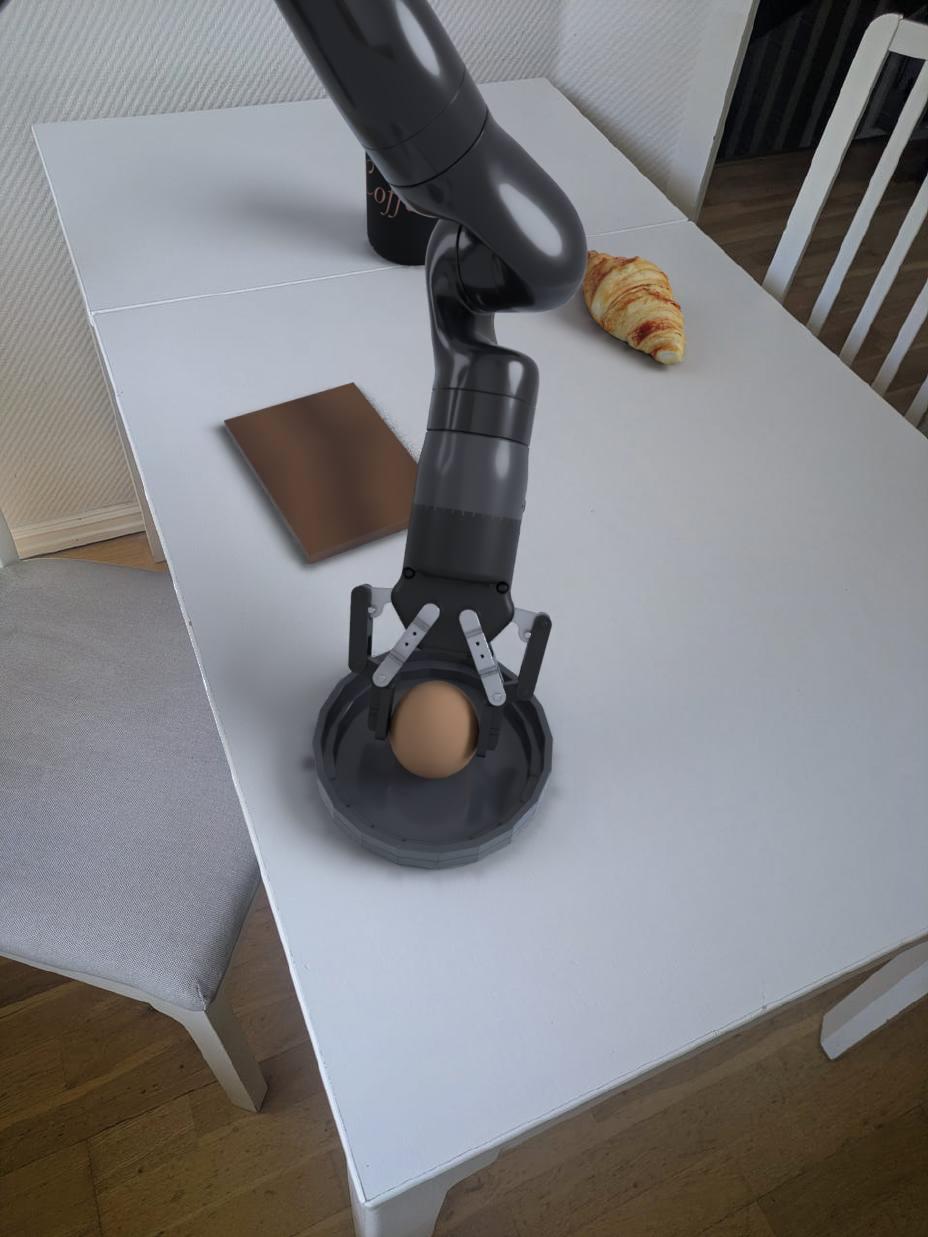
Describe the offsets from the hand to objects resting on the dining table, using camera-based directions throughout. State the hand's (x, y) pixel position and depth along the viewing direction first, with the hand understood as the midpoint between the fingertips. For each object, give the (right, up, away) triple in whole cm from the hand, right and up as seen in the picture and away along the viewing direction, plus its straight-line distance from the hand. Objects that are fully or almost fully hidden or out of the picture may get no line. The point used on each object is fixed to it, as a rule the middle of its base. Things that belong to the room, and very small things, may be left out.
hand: (431, 745), depth 63 cm
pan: (0, -2, +5) cm, 5 cm away
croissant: (+21, +43, +43) cm, 64 cm away
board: (-10, +23, +24) cm, 35 cm away
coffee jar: (-4, +55, +50) cm, 75 cm away
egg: (0, -2, +5) cm, 5 cm away
